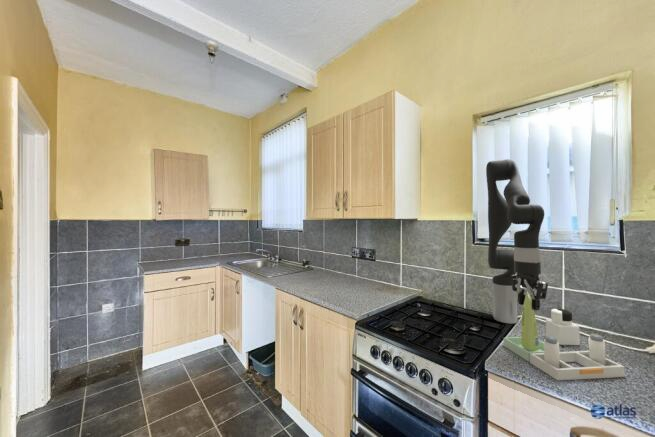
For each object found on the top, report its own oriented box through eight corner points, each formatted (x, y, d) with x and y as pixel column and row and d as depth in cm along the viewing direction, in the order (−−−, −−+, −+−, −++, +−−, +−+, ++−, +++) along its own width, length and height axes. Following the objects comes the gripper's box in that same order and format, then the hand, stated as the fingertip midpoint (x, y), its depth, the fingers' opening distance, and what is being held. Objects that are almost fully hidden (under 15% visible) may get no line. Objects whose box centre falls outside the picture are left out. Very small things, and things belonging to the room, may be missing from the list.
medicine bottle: (564, 337, 102) (563, 307, 102) (580, 345, 95) (579, 313, 95) (545, 336, 103) (544, 306, 103) (559, 345, 96) (558, 313, 96)
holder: (530, 362, 85) (530, 353, 85) (590, 359, 86) (590, 350, 86) (558, 381, 75) (558, 370, 75) (626, 377, 76) (625, 367, 76)
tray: (503, 345, 96) (503, 337, 96) (532, 344, 97) (532, 336, 97) (528, 361, 85) (528, 352, 85) (560, 360, 86) (560, 351, 86)
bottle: (541, 367, 82) (540, 335, 82) (552, 367, 82) (551, 335, 82) (552, 374, 78) (550, 340, 78) (563, 373, 78) (562, 340, 78)
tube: (516, 344, 94) (514, 291, 94) (529, 343, 94) (527, 290, 94) (529, 352, 88) (527, 295, 89) (543, 351, 89) (541, 294, 89)
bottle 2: (586, 365, 82) (584, 333, 83) (596, 364, 83) (595, 333, 83) (598, 371, 79) (597, 338, 79) (609, 371, 79) (608, 338, 79)
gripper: (502, 257, 99) (503, 301, 98) (533, 263, 84) (535, 314, 84) (520, 256, 99) (522, 300, 99) (555, 262, 85) (557, 313, 84)
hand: (528, 306), depth 91 cm, fingers closed on tube, 5 cm apart
